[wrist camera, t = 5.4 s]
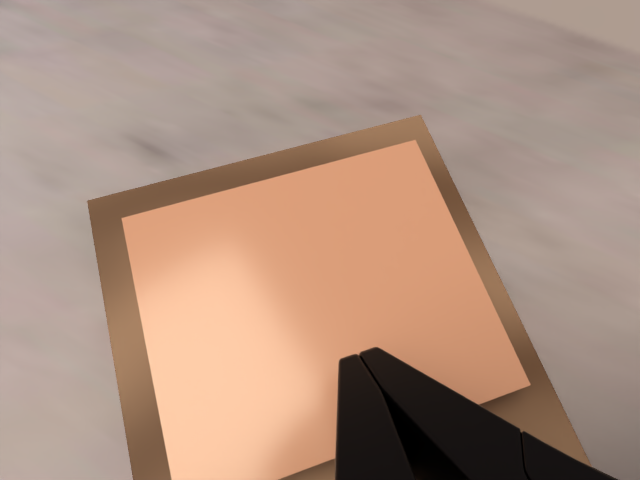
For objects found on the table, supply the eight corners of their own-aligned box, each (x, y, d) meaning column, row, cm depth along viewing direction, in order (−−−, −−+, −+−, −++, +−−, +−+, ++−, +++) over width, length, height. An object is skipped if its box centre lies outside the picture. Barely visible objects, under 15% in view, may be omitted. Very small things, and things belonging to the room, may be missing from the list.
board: (654, 653, 13) (696, 683, 12) (220, 872, 11) (208, 938, 10) (411, 136, 19) (420, 114, 18) (104, 217, 17) (87, 200, 16)
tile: (531, 384, 13) (415, 139, 15) (179, 516, 11) (121, 217, 14) (505, 387, 14) (404, 165, 17) (193, 503, 13) (139, 237, 15)
